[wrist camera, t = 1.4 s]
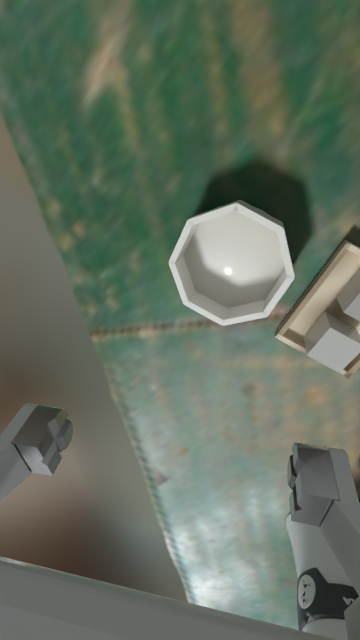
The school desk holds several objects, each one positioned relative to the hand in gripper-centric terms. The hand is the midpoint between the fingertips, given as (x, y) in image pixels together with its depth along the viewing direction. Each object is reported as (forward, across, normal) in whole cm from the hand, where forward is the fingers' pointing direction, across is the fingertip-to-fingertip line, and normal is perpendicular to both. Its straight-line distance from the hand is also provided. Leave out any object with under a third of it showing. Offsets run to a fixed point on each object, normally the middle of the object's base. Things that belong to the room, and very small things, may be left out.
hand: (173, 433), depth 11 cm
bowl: (+28, +1, -7) cm, 29 cm away
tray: (+26, +14, -11) cm, 32 cm away
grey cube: (+25, +13, -14) cm, 32 cm away
